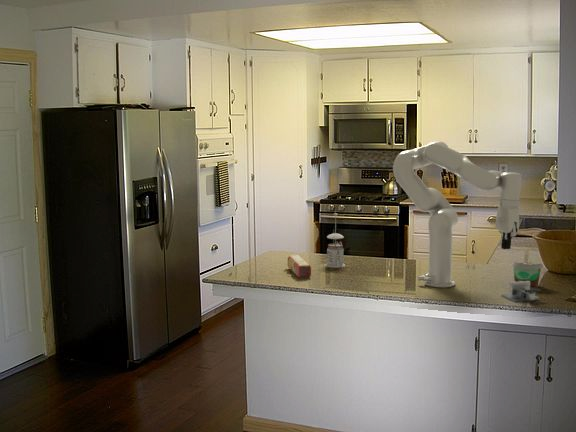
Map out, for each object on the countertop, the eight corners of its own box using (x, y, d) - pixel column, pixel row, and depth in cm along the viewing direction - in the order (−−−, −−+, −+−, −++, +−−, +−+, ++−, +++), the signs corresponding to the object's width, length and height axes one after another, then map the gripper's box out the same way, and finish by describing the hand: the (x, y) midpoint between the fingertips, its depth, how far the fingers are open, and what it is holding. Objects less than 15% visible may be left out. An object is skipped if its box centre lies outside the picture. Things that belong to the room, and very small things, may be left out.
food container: (509, 286, 296) (511, 263, 294) (510, 283, 302) (512, 260, 300) (541, 289, 292) (542, 265, 290) (541, 286, 297) (543, 262, 296)
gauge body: (514, 302, 273) (514, 293, 272) (501, 296, 281) (501, 288, 281) (539, 300, 276) (539, 291, 275) (525, 294, 284) (526, 286, 284)
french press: (340, 262, 343) (341, 211, 339) (350, 267, 332) (351, 214, 328) (321, 263, 340) (322, 212, 336) (330, 269, 329) (331, 215, 325)
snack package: (312, 278, 311) (312, 263, 310) (297, 279, 310) (297, 264, 309) (300, 268, 332) (300, 253, 331) (286, 268, 330) (286, 254, 329)
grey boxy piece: (523, 300, 270) (523, 287, 269) (509, 294, 278) (510, 282, 278) (545, 298, 272) (545, 285, 272) (531, 292, 281) (531, 280, 280)
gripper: (490, 200, 289) (487, 245, 292) (511, 206, 275) (508, 253, 278) (507, 200, 291) (503, 244, 294) (528, 206, 277) (524, 252, 280)
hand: (505, 248), depth 286 cm, fingers closed
